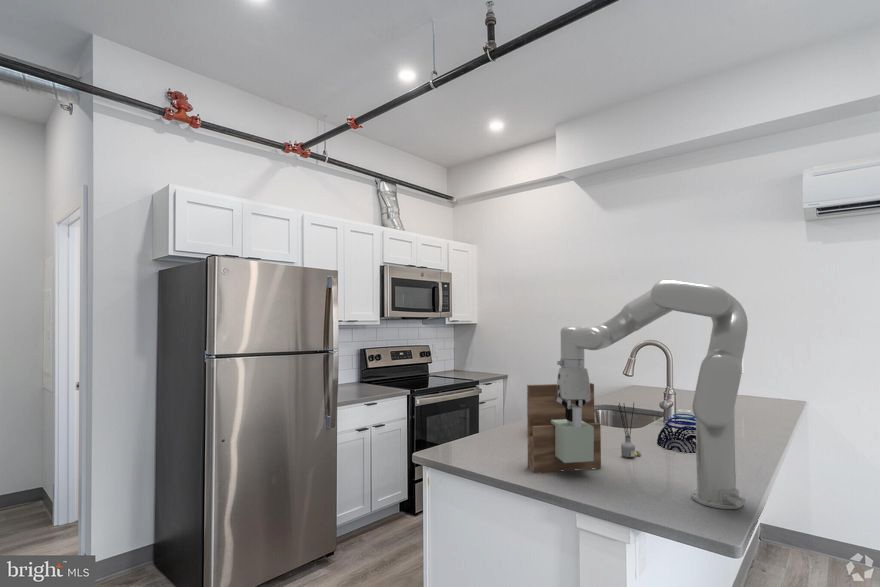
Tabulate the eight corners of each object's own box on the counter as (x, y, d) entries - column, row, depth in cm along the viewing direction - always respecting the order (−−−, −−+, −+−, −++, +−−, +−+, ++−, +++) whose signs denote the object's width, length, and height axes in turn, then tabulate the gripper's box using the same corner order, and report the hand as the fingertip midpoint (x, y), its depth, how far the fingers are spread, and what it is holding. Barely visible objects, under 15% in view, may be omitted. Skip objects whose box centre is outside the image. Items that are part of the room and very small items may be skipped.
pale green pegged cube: (593, 461, 153) (593, 408, 153) (564, 462, 151) (564, 409, 151) (577, 450, 163) (578, 401, 163) (550, 452, 161) (550, 402, 161)
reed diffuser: (625, 460, 170) (624, 404, 171) (610, 455, 176) (609, 401, 177) (644, 457, 175) (643, 402, 176) (629, 452, 181) (628, 399, 182)
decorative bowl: (721, 447, 189) (720, 410, 189) (704, 457, 175) (703, 418, 175) (668, 438, 203) (668, 404, 204) (649, 446, 189) (648, 410, 190)
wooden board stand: (601, 468, 161) (599, 385, 163) (534, 473, 157) (534, 387, 158) (592, 463, 167) (591, 383, 169) (527, 467, 163) (527, 384, 164)
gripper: (555, 365, 152) (555, 424, 151) (600, 364, 155) (601, 422, 154) (545, 363, 159) (545, 419, 158) (588, 362, 162) (589, 417, 161)
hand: (573, 420), depth 156 cm, fingers closed on pale green pegged cube
